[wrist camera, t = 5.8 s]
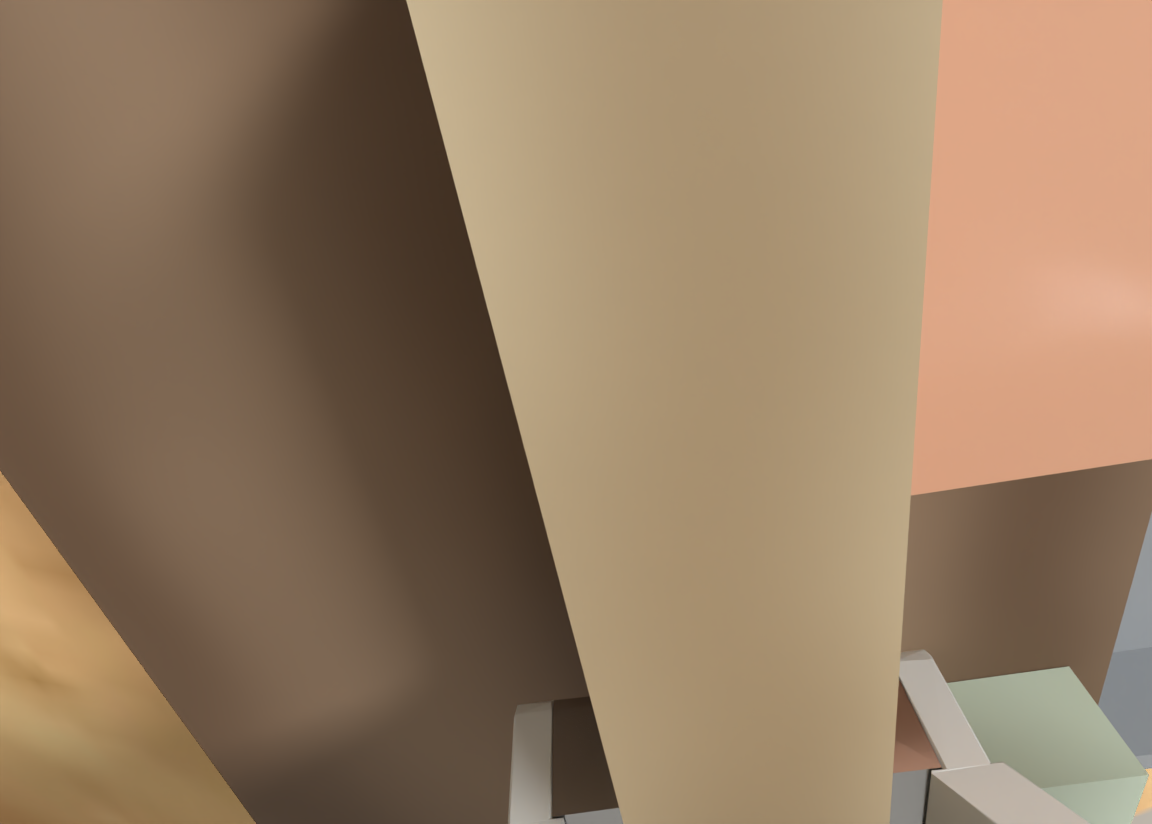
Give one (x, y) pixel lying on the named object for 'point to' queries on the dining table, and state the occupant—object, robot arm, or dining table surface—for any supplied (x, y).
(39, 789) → the dining table surface
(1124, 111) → the terracotta tile
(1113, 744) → the sage tile
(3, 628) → the dining table surface
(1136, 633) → the box
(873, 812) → the bar
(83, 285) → the walnut platform
